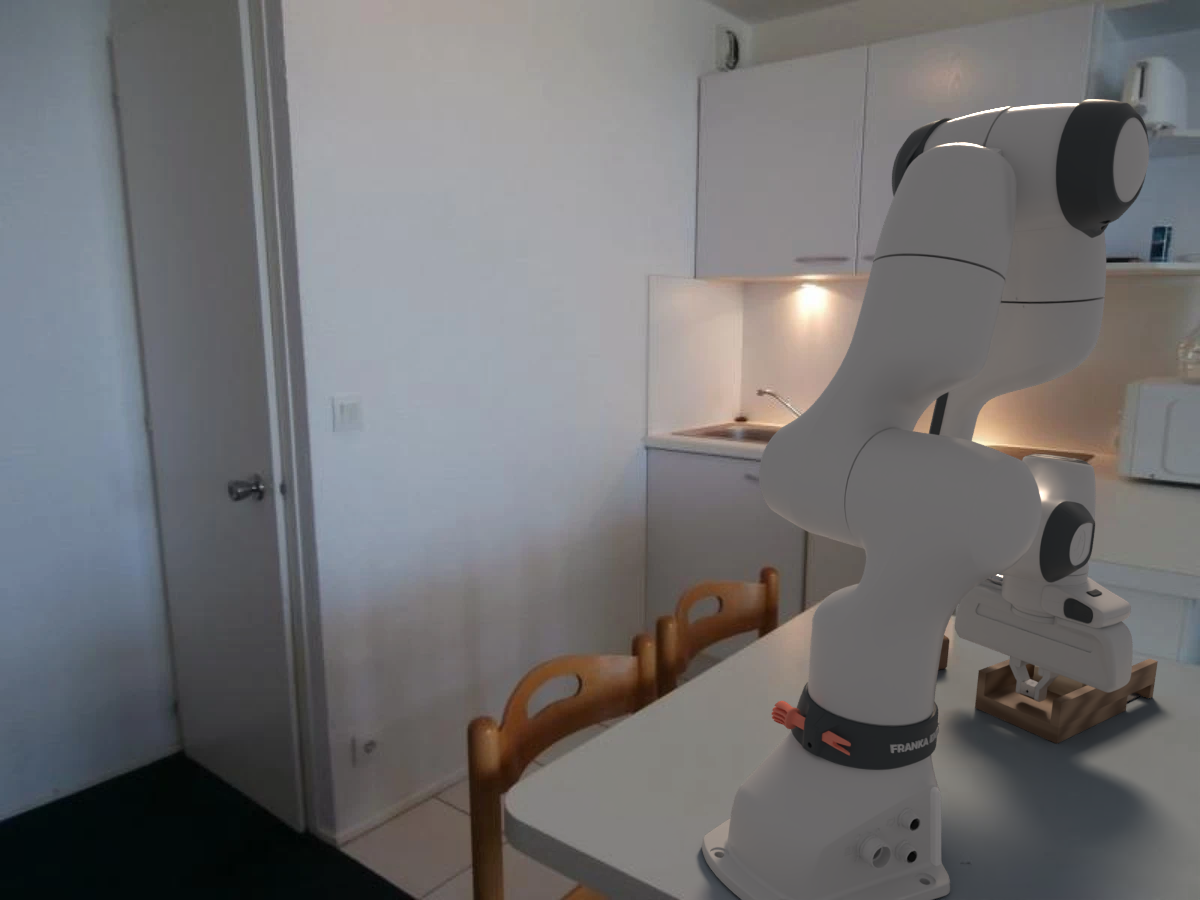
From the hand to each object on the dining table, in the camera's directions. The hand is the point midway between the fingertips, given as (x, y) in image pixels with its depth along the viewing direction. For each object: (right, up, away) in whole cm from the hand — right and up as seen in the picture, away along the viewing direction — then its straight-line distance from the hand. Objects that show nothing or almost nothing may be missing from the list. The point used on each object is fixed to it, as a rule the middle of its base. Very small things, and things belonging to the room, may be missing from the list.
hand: (1030, 696), depth 104 cm
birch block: (+7, 0, +5) cm, 9 cm away
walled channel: (+7, -2, +5) cm, 9 cm away
